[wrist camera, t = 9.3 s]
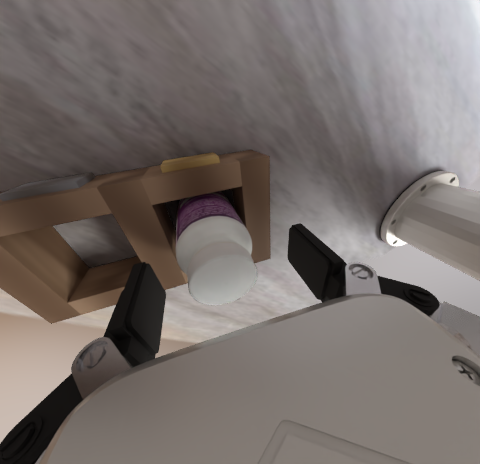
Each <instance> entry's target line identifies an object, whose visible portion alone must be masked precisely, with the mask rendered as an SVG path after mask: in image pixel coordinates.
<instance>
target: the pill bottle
mask: <svg viewBox="0 0 480 464" xmlns="http://www.w3.org/2000/svg"><path fill="white" fill-rule="evenodd" d="M251 253H252V240H251V236H250V234H249V232H248V230H247V229H246V227H245V226H244V224H243V223H242V221H241V219H240V218H239V216H238V215H237V213H236V212H235V210H234V208H233V207H232V205H231V204H230V202H229V200H228V199H227V197H226V196H225V195H224V194H223V193H222V192H221V191H217V192H212V193H207V194H202V195H198V196H193V197H188V198H183V199H181V200H180V202H179V204H178V209H177V224H176V259H177V262H178V265H179V267H180V268H181V270H182V271H183V272H184V273H185V274H186V275H187V279H188V288H189V292H190V294H191V296H192V297H193V298H194V299H195V300H196V301H198V302H200V303H202V304H206V305H223V304H227V303H231V302H233V301H235V300H237V299H239V298H241V297H243V296H244V295H245V294H246V293H247V292H249V291H250V289H251V288H252V287H253V285H254V284H255V282H256V279H257V268H256V265H255V263H254V261H253V259H252V257H251Z"/></svg>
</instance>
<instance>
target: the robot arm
mask: <svg viewBox="0 0 480 464" xmlns="http://www.w3.org/2000/svg"><path fill="white" fill-rule="evenodd" d="M381 238H382V240H383V241H384V242H385V243H387V244H389V245H391V246H401V245H404V244H407V243H408V244H410V245H412V246H414V247H416V248H418V249H419V250H421V251H423V252H425V253H427V254H429V255H431V256H433V257H435V258H437V259H439V260H440V261H442V262H444V263H446V264H448V265H450V266H452V267H454V268H456V269H458V270H460V271H462V272H463V273H465V274H467V275H469V276H471V277H473V278H475V279H477V280H479V281H480V192H479V191H474V190H470V189H465V188H461V187H459V179H458V177H457V175H456V174H455V173H451V172H447V171H437V172H433V173H431V174H428V175H426V176H424V177H423V178H421V179H419V180H418V181H416V182H415V183H414V184H412V185H411V186H410V187H409V188H408V189H407V190H405V191H404V192H403V193H402V194H401V195H400V197H399V198H398V199H397V200H396V201H395V202H394V204H393V205H392V206H391V208H390V209H389V211H388V213H387V214H386V216H385V218H384V220H383V223H382V226H381ZM288 260H289V262H290V263H291V265H292V266H293V267H294V269H295V270H296V271H297V273H298V274H299V275H300V277H301V278H302V279H303V281H304V282H305V283H306V285H307V286H308V287H309V289H310V290H311V291H312V293H313V294H314V295H315V297H316V298H317V299H318V300H321V301H322V303H319V304H316V305H313V306H310V307H307V308H303V309H300V310H297V311H294V312H291V313H288V314H285V315H282V316H279V317H276V318H273V319H270V320H267V321H264V322H261V323H258V324H255V325H252V326H249V327H246V328H243V329H240V330H237V331H234V332H231V333H228V334H225V335H222V336H219V337H216V338H213V339H210V340H207V341H204V342H201V343H198V344H195V345H192V346H189V347H187V348H183V349H181V350H178V351H175V352H172V353H169V354H167V355H164V356H161V357H158V358H155V354H156V353H158V351H159V345H160V338H161V330H162V322H163V314H164V306H165V299H166V293H165V290H164V288H163V287H162V285H161V283H160V281H159V279H158V278H157V276H156V274H155V272H154V271H153V269H152V267H151V265H150V264H149V263H146V262H141V263H137V264H134V265H133V267H132V270H131V272H130V275H129V277H128V280H127V283H126V285H125V288H124V290H123V291H122V292H121V294H120V297H119V299H118V302H117V304H116V307H115V309H114V312H113V314H112V317H111V319H110V322H109V324H108V327H107V329H106V332H105V334H104V337H102V338H98V339H96V340H94V341H92V342H90V343H89V344H88V345H86V346H85V347H84V348H83V349H82V350H81V351H80V352H79V354H78V355H77V356H76V358H75V360H74V361H73V364H72V367H71V370H72V374H71V375H70V376H69V377H68V378H66V379H65V380H64V381H63V382H62V383H61V384H60V385H59V386H58V387H57V388H56V389H55V390H54V391H52V392H51V393H50V394H49V395H48V396H47V397H46V398H45V399H44V400H43V401H42V402H41V403H40V404H38V405H37V406H36V407H35V408H34V409H33V410H32V411H31V412H30V413H29V414H28V415H27V416H26V417H25V418H24V419H22V420H21V421H20V422H19V423H18V424H17V425H16V426H15V427H14V428H13V429H12V430H11V431H10V432H9V433H8V435H7V436H6V437H5V438H4V440H3V441H2V442H1V444H0V464H480V317H479V316H477V315H475V314H472V313H470V312H468V311H465V310H463V309H461V308H458V307H456V306H453V305H451V304H449V303H447V302H443V303H440V302H439V301H438V300H437V298H436V297H435V296H434V295H433V294H431V293H430V292H429V291H427V290H425V289H423V288H421V287H418V286H415V285H410V284H407V283H403V282H399V281H396V280H392V279H388V278H384V277H380V276H377V274H376V272H375V270H373V268H371V267H370V266H368V265H366V264H364V263H360V262H350V263H348V264H346V263H345V262H344V260H343V259H342V258H340V257H339V256H338V255H337V254H336V253H335V252H333V251H332V250H331V249H330V248H329V247H328V246H326V245H325V244H324V243H323V242H322V241H321V240H320V239H318V238H317V237H316V236H315V235H314V234H313V233H311V232H310V231H309V230H308V229H307V228H306V227H304V226H303V225H302V224H296V225H292V227H291V228H290V229H289V244H288Z"/></svg>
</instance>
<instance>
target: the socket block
mask: <svg viewBox="0 0 480 464" xmlns="http://www.w3.org/2000/svg"><path fill="white" fill-rule="evenodd" d="M231 188H232V194H233V201H234V208H235V212H236V213H237V215H238V216H239V218H240V219H241V221H242V223H243V224H244V226H245V227H246V229H247V230H248V232H249V234H250V236H251V240H252V253H251V257H252V259H253V261H254V263H257V262H260V261H264V260H267V259H270V160H269V156H267V155H264V154H262V153H259V152H256V151H253V150H246V151H240V152H234V153H228V154H222V155H216V154H215V153H214V152H212V153H206V154H200V155H194V156H188V157H182V158H176V159H170V160H164V161H163V162H162V164H161V165H157V166H152V167H146V168H140V169H134V170H128V171H122V172H116V173H110V174H104V175H98V176H94V175H93V173H86V174H79V175H73V176H67V177H61V178H55V179H49V180H43V181H37V182H31V183H26V184H24V185H21V186H19V187H16V188H13V189H11V190H8V191H4V192H0V288H1V289H3V290H4V291H5V292H7V293H8V294H10V295H11V296H13V297H14V298H15V299H17V300H18V301H20V302H21V303H23V304H24V305H25V306H27V307H28V308H30V309H31V310H33V311H34V312H35V313H37V314H38V315H40V316H41V317H43V318H44V319H45V320H47V321H48V322H50V323H51V324H52V323H55V322H58V321H62V320H65V319H69V318H72V317H75V316H79V315H82V314H85V313H89V312H92V311H95V310H99V309H102V308H106V307H109V306H112V305H116V304H117V302H118V299H119V297H120V294H121V292H122V291H123V290H124V288H125V285H126V283H127V280H128V277H129V275H130V272H131V270H132V267H133V265H134V264H137V263H141V262H146V263H149V264H150V265H151V267H152V269H153V271H154V272H155V274H156V276H157V278H158V279H159V281H160V283H161V285H162V287H163V288H164V290H166V289H169V288H173V287H176V286H179V285H183V284H186V283H188V279H187V275H186V274H185V273H184V272H183V271H182V270H181V268H180V267H179V265H178V262H177V259H176V231H175V229H174V226H173V224H172V221H171V219H170V216H169V214H168V211H167V209H166V206H165V203H164V202H169V201H174V200H178V199H183V198H188V197H193V196H198V195H202V194H207V193H212V192H217V191H222V190H226V189H231ZM111 213H112V214H113V216H114V217H115V219H116V221H117V222H118V224H119V226H120V227H121V229H122V231H123V232H124V234H125V235H126V237H127V239H128V240H129V242H130V244H131V245H132V247H133V249H134V250H135V252H136V254H137V255H138V256H137V257H133V258H129V259H125V260H121V261H117V262H113V263H109V264H105V265H101V266H98V267H94V268H90V269H89V268H88V266H87V265H86V264H85V263H84V262H83V261H82V260H81V258H80V257H79V256H78V255H77V254H76V253H75V252H74V250H73V249H72V248H71V247H70V246H69V245H68V244H67V242H66V241H65V240H64V239H63V238H62V237H61V235H60V234H59V233H58V232H57V231H56V230H55V229H54V227H53V226H54V225H58V224H63V223H68V222H73V221H78V220H82V219H87V218H92V217H97V216H102V215H106V214H111Z"/></svg>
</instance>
